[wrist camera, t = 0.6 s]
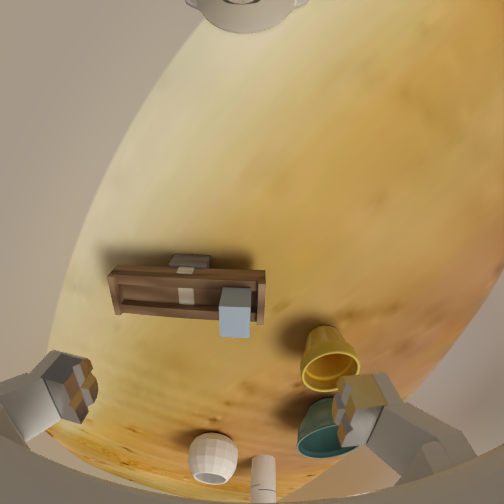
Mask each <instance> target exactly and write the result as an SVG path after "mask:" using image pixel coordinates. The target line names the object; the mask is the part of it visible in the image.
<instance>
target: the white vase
mask: <svg viewBox="0 0 504 504" xmlns="http://www.w3.org/2000/svg"><path fill="white" fill-rule="evenodd" d="M237 458H238V449H237V447H236V444H235V443H234V442H233V441H232V440H231V439H230V438H229V437H227V436H225V435H222V434H219V433H204V434H202V435H200V436H197V437H196V438H195V439H194V441H193V442H192V444H191V445H190V449H189V455H188V463H189V466H190V470H191V472H192V474H193V476H194V478H195V479H196V480H198V481H200V482H203V483H207V484H223V483H226V482H227V481H228V480H229V479H230V477H231V476H232V475H233V473H234V472H235V470H236V466H237Z"/></svg>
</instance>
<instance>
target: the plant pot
mask: <svg viewBox="0 0 504 504" xmlns="http://www.w3.org/2000/svg"><path fill="white" fill-rule="evenodd" d="M300 370H301V378H302V381H303V383H304V384H305V385H306V386H307V387H308V388H310V389H312V390H314V391H319V392H331V391H335V390H338V388H337V383H338V380H339V378H340V376H350V375H358V373H359V371H360V362H359V359H358V356H357V353H356V351H355V349H354V348H353V347H352V346H351V345H350V344H349V343H347V342H346V341H345V340H344V338H343V337H342V336H341V334H340V333H339V331H338V330H337V329H336V328H334V327H332V326H319V327H317V328H315V329H313V330H312V331H311V332H310V333H309V334H308V336H307V339H306V347H305V353H304V355H303V356H302V359H301V362H300Z"/></svg>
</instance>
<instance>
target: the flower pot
mask: <svg viewBox="0 0 504 504" xmlns="http://www.w3.org/2000/svg"><path fill="white" fill-rule="evenodd" d="M332 403H333V398H325V399H321V400H319V401H317V402H315V403H313V404H312V405H311V406H310V407H309V409H308V412H307V414H306V415H305V417H304V418H303V420H302V422H301V424H300V427H299V430H298V442H297V450H298V452H299V453H300V454H302V455H303V456H306V457H309V458H317V459H322V458H331V457H336V456H340V455H343V454H346V453H348V452H350V451H352V450H354V449H356V448H358V447H359V446H360V445H359V446H350V447H341V445H340V441H339V438H338V434H337V431H338V428H339V426H338V425H337V424H336V423H334V420H333V415H332Z"/></svg>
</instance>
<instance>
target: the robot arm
mask: <svg viewBox="0 0 504 504" xmlns="http://www.w3.org/2000/svg"><path fill="white" fill-rule="evenodd" d="M185 1H186V3H187V4H188V5H189V6H191V7H193V8H195V9H198V10H200V11H201V12H202V13H203V15H204V16H205V17H206V18H207V19H208V20H209V21H210V22H211V23H212V24H214V25H215V26H217V27H219V28H221V29H224V30H227V31H231V32H237V33H253V32H259V31H263V30H266V29H269V28H271V27H273V26H275V25H277V24H278V23H280V22H281V21H282V20H283V19H284V18H285V17H286V16H287V15H288V14H289V13H290V12H291V11H292V10H294V9H296V8H299V7H301V6H303V5H305V4H306V3H307V1H308V0H185ZM92 369H93V367H92V364H91V361H90V360H89V359H87V358H84V357H80V356H76V355H72V354H68V353H63V352H60V351H56V350H53V351H50V352H49V353H48V354H47V355H46V356H45V358H44V359H43V360H42V361H41V362H40V363H39V364H38V365H37V366H36V367H35V368H34V369H33V370H32V371H31V373H30V374H28V373H25V374H22V375H19V376H16V377H14V378H11V379H8V380H6V381H3V382H0V504H504V444H502V445H500V446H498V447H496V448H494V449H492V450H490V451H488V452H486V453H484V454H482V455H480V456H478V457H477V455H476V454H475V452H474V450H473V449H472V447H471V445H470V444H469V442H468V440H467V439H466V437H465V436H464V434H463V433H462V431H460V430H458V429H456V428H454V427H452V426H451V425H448V424H447V423H445V422H443V421H441V420H439V419H437V418H435V417H433V416H431V415H430V414H428V413H426V412H424V411H422V410H420V409H419V408H417V407H415V406H413V405H411V404H410V403H407V402H406V403H403V401H402V399H401V398H400V396H399V394H398V392H397V391H396V389H395V387H394V386H393V384H392V382H391V380H390V379H389V377H388V375H387V374H386V373H385V372H377V373H370V374H362V375H350V376H340V378H339V380H338V383H337V388H338V391H339V392H338V393H337V394H336V395H334V398H333V403H332V415H333V420H334V423H336V424H337V425H338V426H339V428H338V431H337V434H338V438H339V441H340V445H341V447H350V446H359V445H366V446H367V447H368V448H369V449H370V450H372V451H373V452H374V453H375V454H376V455H377V456H379V457H380V458H381V459H382V460H383V461H384V462H385V463H387V464H388V465H389V466H390V467H391V468H392V469H394V470H395V471H396V472H397V473H398V474H399V475H401V478H400V479H399V480H398V482H397V483H396V484H395V485H394V486H393V487H389V488H385V489H381V490H376V491H371V492H367V493H361V494H356V495H351V496H345V497H338V498H330V499H323V500H313V501H300V502H285V503H284V502H283V503H241V502H222V501H210V500H201V499H192V498H185V497H178V496H172V495H166V494H161V493H155V492H151V491H146V490H141V489H137V488H133V487H128V486H125V485H121V484H117V483H114V482H110V481H107V480H104V479H101V478H97V477H94V476H91V475H88V474H86V473H82V472H80V471H77V470H74V469H72V468H69V467H67V466H64V465H62V464H59V463H57V462H54V461H52V460H50V459H48V458H45V457H43V456H41V455H39V454H37V453H35V452H33V451H31V450H30V448H29V447H28V445H27V444H26V442H27V441H28V440H30V439H32V438H33V437H35V436H36V435H38V434H40V433H41V432H42V431H44V430H46V429H47V428H49V427H51V426H52V425H54V424H55V423H57V422H58V421H60V420H61V418H62V419H65V420H68V421H72V422H75V423H79V424H82V422H83V420H84V419H85V417H86V415H87V414H88V412H89V411H88V407H87V406H89V405H91V404H93V403H94V402H95V400H96V398H97V394H98V383H97V380H96V378H95V377H94V376H93V375H92V373H91V371H92Z"/></svg>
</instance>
